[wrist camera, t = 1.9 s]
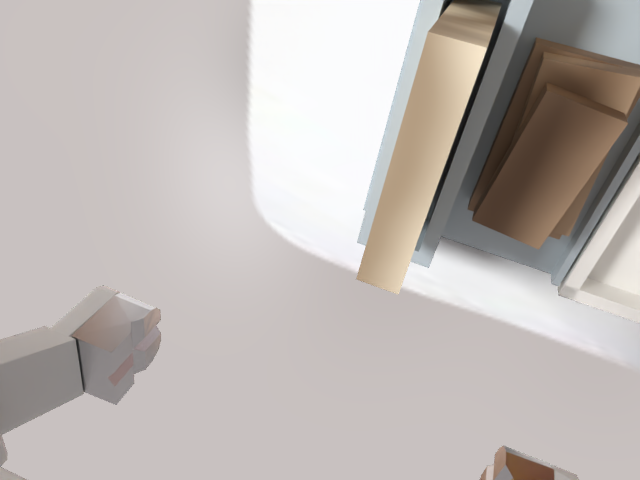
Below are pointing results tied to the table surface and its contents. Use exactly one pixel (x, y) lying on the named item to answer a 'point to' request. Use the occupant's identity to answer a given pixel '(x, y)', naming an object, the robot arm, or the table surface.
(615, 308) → the tray
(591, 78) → the offcut
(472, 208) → the offcut
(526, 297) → the table surface
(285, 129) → the table surface
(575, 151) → the offcut
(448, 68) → the maple sheet
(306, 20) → the table surface
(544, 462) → the robot arm
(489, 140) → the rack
